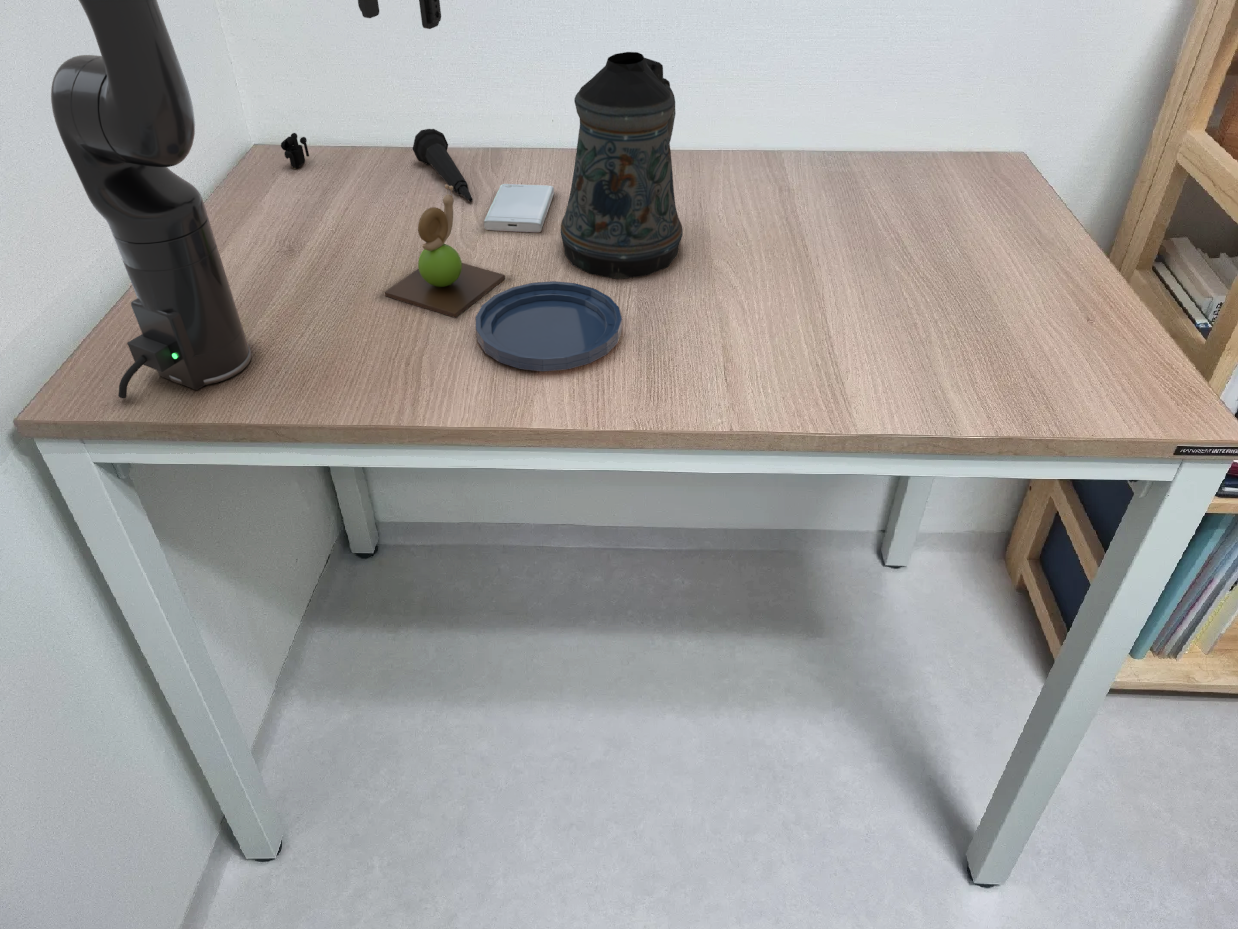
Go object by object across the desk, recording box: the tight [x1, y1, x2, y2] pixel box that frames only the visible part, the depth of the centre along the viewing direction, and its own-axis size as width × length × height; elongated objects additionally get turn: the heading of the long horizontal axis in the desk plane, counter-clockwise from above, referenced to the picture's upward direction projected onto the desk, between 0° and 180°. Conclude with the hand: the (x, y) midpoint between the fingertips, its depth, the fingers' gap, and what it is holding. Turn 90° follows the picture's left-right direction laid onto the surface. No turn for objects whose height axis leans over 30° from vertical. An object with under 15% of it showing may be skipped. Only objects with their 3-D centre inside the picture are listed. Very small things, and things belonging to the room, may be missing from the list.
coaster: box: [384, 262, 506, 318], centre depth 118 cm, size 11×11×1 cm
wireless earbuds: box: [280, 132, 310, 170], centre depth 146 cm, size 7×2×5 cm, turn 169°
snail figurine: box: [417, 183, 463, 287], centre depth 114 cm, size 5×6×12 cm
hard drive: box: [483, 183, 555, 233], centre depth 134 cm, size 2×8×12 cm
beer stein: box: [559, 51, 683, 280], centre depth 119 cm, size 16×19×25 cm
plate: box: [474, 280, 623, 372], centre depth 109 cm, size 17×17×2 cm
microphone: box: [412, 128, 474, 203], centre depth 142 cm, size 6×6×20 cm
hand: (401, 21), depth 104 cm, fingers open, 8 cm apart
